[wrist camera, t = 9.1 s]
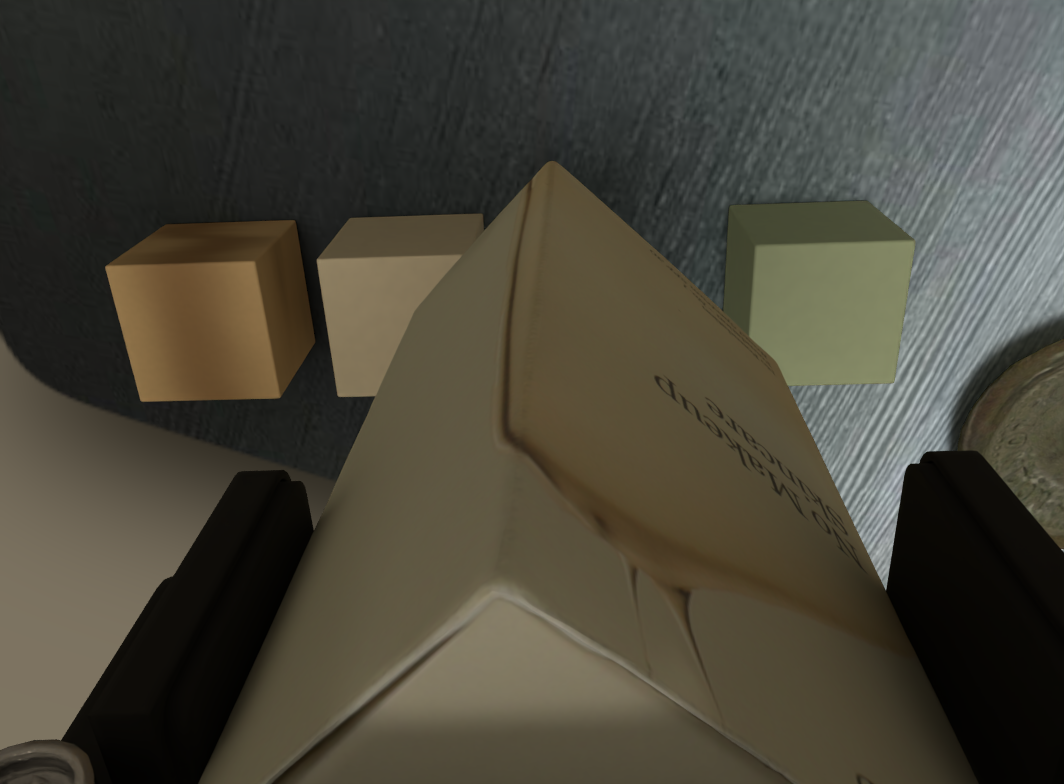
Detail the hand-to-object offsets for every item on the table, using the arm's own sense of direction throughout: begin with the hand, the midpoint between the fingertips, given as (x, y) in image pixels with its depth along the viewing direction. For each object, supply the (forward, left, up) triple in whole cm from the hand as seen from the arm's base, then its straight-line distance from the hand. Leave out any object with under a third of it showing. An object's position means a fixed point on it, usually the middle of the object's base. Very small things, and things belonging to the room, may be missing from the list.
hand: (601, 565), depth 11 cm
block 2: (-6, -4, -23) cm, 25 cm away
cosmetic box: (0, 0, -7) cm, 7 cm away
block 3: (+8, -4, -23) cm, 25 cm away
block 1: (-13, -4, -23) cm, 27 cm away
